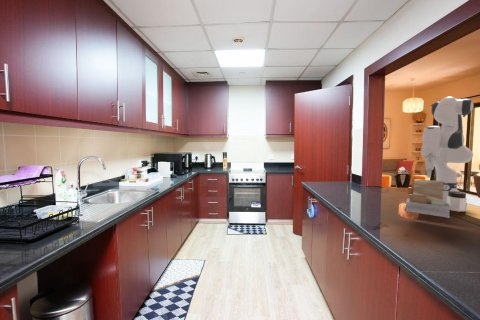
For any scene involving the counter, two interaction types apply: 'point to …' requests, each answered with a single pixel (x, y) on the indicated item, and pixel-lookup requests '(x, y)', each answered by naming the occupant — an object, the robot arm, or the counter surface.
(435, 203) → the offcut short
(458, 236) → the counter surface
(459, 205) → the jar
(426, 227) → the counter surface
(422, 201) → the offcut tall
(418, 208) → the rack
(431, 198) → the sheet
